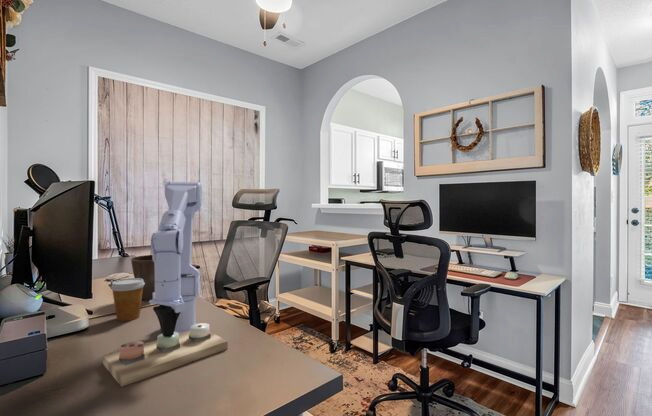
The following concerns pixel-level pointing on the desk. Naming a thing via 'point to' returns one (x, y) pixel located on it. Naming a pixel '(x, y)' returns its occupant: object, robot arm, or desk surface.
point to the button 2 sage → (167, 340)
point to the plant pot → (145, 274)
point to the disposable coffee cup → (127, 298)
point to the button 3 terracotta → (131, 350)
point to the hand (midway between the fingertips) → (168, 335)
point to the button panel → (162, 357)
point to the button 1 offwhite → (199, 330)
